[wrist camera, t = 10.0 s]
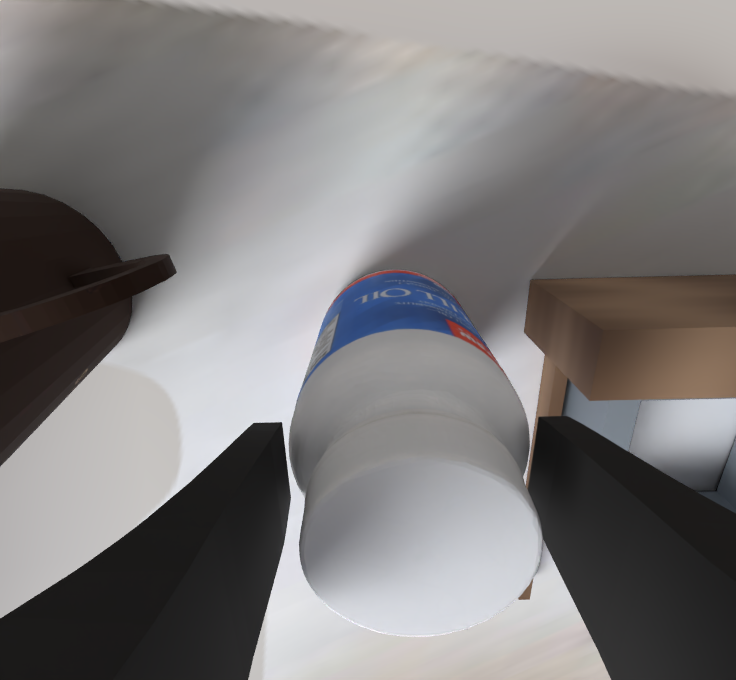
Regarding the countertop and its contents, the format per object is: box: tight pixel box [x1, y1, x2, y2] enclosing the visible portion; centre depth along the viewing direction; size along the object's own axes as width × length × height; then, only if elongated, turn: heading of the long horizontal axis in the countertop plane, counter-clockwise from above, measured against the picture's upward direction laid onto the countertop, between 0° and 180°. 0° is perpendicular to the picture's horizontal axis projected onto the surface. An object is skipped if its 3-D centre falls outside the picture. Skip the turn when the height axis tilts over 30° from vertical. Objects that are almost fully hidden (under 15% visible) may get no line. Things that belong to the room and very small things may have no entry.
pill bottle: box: [289, 269, 543, 637], centre depth 11 cm, size 6×5×10 cm
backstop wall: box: [518, 275, 736, 600], centre depth 16 cm, size 12×15×5 cm
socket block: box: [561, 379, 736, 513], centre depth 16 cm, size 8×8×3 cm
